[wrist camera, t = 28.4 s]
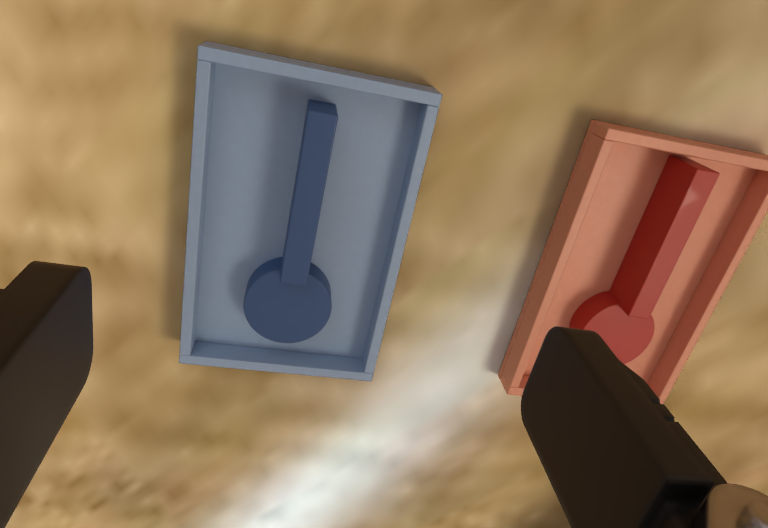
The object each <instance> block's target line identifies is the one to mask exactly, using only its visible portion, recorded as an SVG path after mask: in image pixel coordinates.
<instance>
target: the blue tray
mask: <svg viewBox="0 0 768 528" xmlns="http://www.w3.org/2000/svg"><path fill="white" fill-rule="evenodd" d="M197 59H198V60H197V71H196V87H195V104H194V121H193V137H192V154H191V171H190V187H189V204H188V221H187V237H186V254H185V271H184V287H183V304H182V321H181V337H180V355H179V363H183V364H194V365H204V366H215V367H225V368H236V369H246V370H257V371H267V372H278V373H288V374H299V375H310V376H320V377H331V378H341V379H352V380H362V381H372V378H373V373H374V370H375V365H376V361H377V357H378V353H379V349H380V345H381V341H382V337H383V333H384V329H385V325H386V321H387V317H388V313H389V309H390V305H391V301H392V296H393V292H394V288H395V284H396V280H397V276H398V272H399V268H400V264H401V260H402V256H403V252H404V248H405V244H406V240H407V236H408V232H409V227H410V223H411V219H412V215H413V211H414V207H415V203H416V199H417V195H418V191H419V187H420V183H421V179H422V175H423V171H424V167H425V163H426V158H427V154H428V150H429V146H430V142H431V138H432V134H433V130H434V126H435V122H436V118H437V114H438V110H439V106H440V102H441V98H442V94H441V93H440V92H439V91H437V90H436V89H435V88H434V87H430V86H425V85H420V84H415V83H410V82H405V81H400V80H395V79H391V78H386V77H381V76H376V75H371V74H366V73H361V72H356V71H351V70H346V69H341V68H337V67H332V66H327V65H322V64H317V63H312V62H307V61H302V60H297V59H292V58H287V57H283V56H278V55H273V54H268V53H263V52H258V51H253V50H248V49H243V48H238V47H233V46H229V45H224V44H219V43H214V42H209V41H205V42H203V43H202V44H200V45H198V53H197ZM309 99H311V100H316V101H321V102H326V103H331V104H335V105H336V108H337V113H338V121H337V127H336V132H335V137H334V143H333V148H332V153H331V158H330V164H329V169H328V174H327V180H326V185H325V190H324V196H323V201H322V206H321V211H320V217H319V222H318V227H317V233H316V238H315V243H314V249H313V254H312V259H311V263H313V264H314V265H316V266H317V267H318V268H320V269H321V271H322V272H323V273H324V274H325V276H326V277H327V279H328V281H329V284H330V288H331V301H332V309H331V314H330V318H329V320H328V322H327V323H326V325H325V326H324V327H323V329H322V330H321V331H320V332H319V333H317V334H316V335H315V336H313V337H311V338H309V339H307V340H304V341H301V342H297V343H279V342H275V341H271V340H269V339H266V338H264V337H263V336H261V335H260V334H258V333H257V332H256V331H255V330H254V329H253V328H252V327H251V326H250V324H249V323H248V321H247V319H246V317H245V313H244V308H243V303H244V297H245V292H246V288H247V283H248V281H249V278H250V277H251V275H252V274H253V272H254V271H255V270H256V269H257V268H258V267H259V266H261V265H262V264H263V263H265V262H267V261H269V260H272V259H275V258H278V257H283V251H284V245H285V239H286V232H287V226H288V220H289V214H290V208H291V202H292V196H293V190H294V184H295V177H296V171H297V165H298V159H299V153H300V147H301V141H302V135H303V128H304V122H305V116H306V110H307V104H308V100H309Z"/></svg>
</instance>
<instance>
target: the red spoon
mask: <svg viewBox="0 0 768 528" xmlns="http://www.w3.org/2000/svg"><path fill="white" fill-rule="evenodd" d="M719 175H720V173H719V172H717V171H715V170H712V169H710V168H708V167H706V166H704V165H702V164H700V163H698V162H695V161H693V160H691V159H688V158H683V157H678V156H673V155H669V157H668V159H667V161H666V164H665V166H664V168H663V170H662V173H661V175H660V177H659V179H658V182H657V184H656V186H655V188H654V191H653V193H652V195H651V197H650V200H649V202H648V204H647V207H646V209H645V211H644V213H643V216H642V218H641V220H640V222H639V225H638V227H637V229H636V231H635V234H634V236H633V238H632V240H631V243H630V245H629V247H628V249H627V252H626V254H625V256H624V259H623V261H622V263H621V265H620V268H619V270H618V272H617V274H616V277H615V279H614V281H613V283H612V286H611V288H610V290H609V291H605V292H601V293H598V294H596V295H594V296H592V297H590V298H589V299H587V300H586V301H584V302H583V303H582V304H581V305H580V306H579V307H578V308H577V310H576V311H575V313H574V314H573V316H572V318H571V321H570V325H569V328H575V329H583V330H591V331H595V332H597V333H598V334H599V335H600V336H601V338H602V339H603V340H604V342H605V343H606V344H607V345H608V347H609V348H610V349H611V350H612V352H613V353H614V354H615V356H616V357H617V358H618V359H619V360H620V361H621V362H622V363H623V364H626V363H628V362H630V361H632V360H634V359H635V358H637V357H638V356H639V355H640V354H641V353H642V352H643V351H644V350H645V349H646V348H647V346H648V345H649V343H650V342H651V340H652V337H653V334H654V320H653V317H652V315H651V314H652V312H653V310H654V308H655V305H656V303H657V301H658V299H659V297H660V295H661V293H662V291H663V289H664V287H665V285H666V283H667V281H668V279H669V277H670V275H671V273H672V271H673V269H674V267H675V265H676V263H677V261H678V259H679V256H680V254H681V252H682V250H683V248H684V246H685V244H686V242H687V240H688V238H689V236H690V234H691V232H692V230H693V228H694V226H695V224H696V222H697V220H698V218H699V216H700V214H701V212H702V210H703V207H704V205H705V203H706V201H707V199H708V197H709V195H710V193H711V191H712V189H713V187H714V185H715V183H716V181H717V179H718V177H719Z"/></svg>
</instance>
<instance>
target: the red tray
mask: <svg viewBox="0 0 768 528" xmlns="http://www.w3.org/2000/svg"><path fill="white" fill-rule="evenodd" d="M669 155H673V156H678V157H683V158H688V159H691V160H693V161H695V162H698V163H700V164H702V165H704V166H706V167H708V168H710V169H712V170H715V171H717V172H719V173H720V175H719V177H718V179H717V181H716V183H715V185H714V187H713V189H712V191H711V193H710V195H709V197H708V199H707V201H706V203H705V205H704V207H703V210H702V212H701V214H700V216H699V218H698V220H697V222H696V224H695V226H694V228H693V230H692V232H691V234H690V236H689V238H688V240H687V242H686V244H685V246H684V248H683V250H682V252H681V254H680V256H679V259H678V261H677V263H676V265H675V267H674V269H673V271H672V273H671V275H670V277H669V279H668V281H667V283H666V285H665V287H664V289H663V291H662V293H661V295H660V297H659V299H658V301H657V303H656V305H655V308H654V310H653V312H652V314H651V315H652V317H653V320H654V334H653V337H652V340H651V342H650V343H649V345H648V346H647V348H646V349H645V350H644V351H643V352H642V353H641V354H640V355H639V356H638V357H637V358H635V359H634V360H632V361H630V362H628V363H626V364H625V365H626V366H627V367H629V368H630V369H631V370H632V371H634V372H635V373H636V374H637V375H639V376H640V377H641V378H643V379H644V380H645V382H646V383H647V384H648V385H649V387H650V388H651V389H652V390H653V392H654V393H655V394H656V395H657V397H658V398H659V399H660V404H664V402H665V400H666V398H667V397H668V395H669V393H670V391H671V389H672V387H673V385H674V384H675V382H676V380H677V378H678V376H679V374H680V373H681V371H682V369H683V367H684V365H685V363H686V361H687V360H688V358H689V356H690V354H691V352H692V350H693V348H694V347H695V345H696V343H697V341H698V339H699V337H700V335H701V334H702V332H703V330H704V328H705V326H706V324H707V322H708V321H709V319H710V317H711V315H712V313H713V311H714V309H715V308H716V306H717V304H718V302H719V300H720V298H721V296H722V295H723V293H724V291H725V289H726V287H727V285H728V283H729V282H730V280H731V278H732V276H733V274H734V272H735V270H736V269H737V267H738V265H739V263H740V261H741V259H742V257H743V256H744V254H745V252H746V250H747V248H748V246H749V244H750V243H751V241H752V239H753V237H754V235H755V233H756V231H757V230H758V228H759V226H760V224H761V222H762V220H763V219H764V217H765V215H766V213H767V211H768V156H767V155H764V154H759V153H754V152H749V151H744V150H739V149H734V148H729V147H724V146H719V145H714V144H710V143H705V142H700V141H695V140H690V139H685V138H680V137H675V136H670V135H665V134H660V133H656V132H651V131H646V130H641V129H636V128H631V127H626V126H621V125H616V124H611V123H606V122H602V121H597V120H591V122H590V125H589V128H588V130H587V133H586V136H585V139H584V141H583V144H582V147H581V150H580V152H579V155H578V158H577V160H576V163H575V166H574V169H573V171H572V174H571V177H570V180H569V182H568V185H567V188H566V191H565V193H564V196H563V199H562V201H561V204H560V207H559V210H558V212H557V215H556V218H555V221H554V223H553V226H552V229H551V232H550V234H549V237H548V240H547V242H546V245H545V248H544V251H543V253H542V256H541V259H540V262H539V264H538V267H537V270H536V273H535V275H534V278H533V281H532V284H531V286H530V289H529V292H528V294H527V297H526V300H525V303H524V305H523V308H522V311H521V314H520V316H519V319H518V322H517V325H516V327H515V330H514V333H513V335H512V338H511V341H510V344H509V346H508V349H507V352H506V355H505V357H504V360H503V363H502V366H501V368H500V371H499V374H498V376H499V378H500V379H501V382H502V384H503V386H504V388H505V391H506V393H507V394H510V395H520V396H522V394H523V391H524V388H525V385H526V383H527V380H528V378H529V375H530V373H531V371H532V368H533V366H534V363H535V361H536V358H537V356H538V353H539V351H540V348H541V346H542V343H543V341H544V338H545V336H546V334H547V333H548V331H549V330H550V329H551V328H553V327H555V326H559V327H567V328H569V325H570V321H571V318H572V316H573V314H574V313H575V311H576V310H577V308H578V307H579V306H580V305H581V304H582V303H583V302H584V301H586V300H587V299H589V298H590V297H592V296H594V295H596V294H598V293H601V292H605V291H609V290H610V288H611V286H612V283H613V281H614V279H615V277H616V274H617V272H618V270H619V268H620V265H621V263H622V261H623V259H624V256H625V254H626V252H627V249H628V247H629V245H630V243H631V240H632V238H633V236H634V234H635V231H636V229H637V227H638V225H639V222H640V220H641V218H642V216H643V213H644V211H645V209H646V207H647V204H648V202H649V200H650V197H651V195H652V193H653V191H654V188H655V186H656V184H657V182H658V179H659V177H660V175H661V173H662V170H663V168H664V166H665V164H666V161H667V159H668V157H669Z"/></svg>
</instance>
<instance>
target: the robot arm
mask: <svg viewBox="0 0 768 528" xmlns="http://www.w3.org/2000/svg"><path fill="white" fill-rule="evenodd" d="M92 356H93V321H92V284H91V275H90V272H89V270H88V268H86V267H80V266H72V265H64V264H56V263H48V262H40V261H33V262H31V263H30V264H29V265H28V266H27V267H26V268H25V269H24V270H23V271H22V272H21V273H20V274H19V275H18V276H17V277H16V278H15V279H14V280H13V281H12V282H11V283H10V284H9V285H8V286H7V287H6V288H5V289H0V528H5V526H6V524H7V523H8V521H9V519H10V517H11V516H12V514H13V512H14V510H15V508H16V507H17V505H18V503H19V501H20V499H21V498H22V496H23V494H24V492H25V491H26V489H27V487H28V485H29V483H30V482H31V480H32V478H33V476H34V474H35V473H36V471H37V469H38V467H39V465H40V464H41V462H42V460H43V458H44V457H45V455H46V453H47V451H48V449H49V448H50V446H51V444H52V442H53V440H54V439H55V437H56V435H57V433H58V432H59V430H60V428H61V426H62V424H63V423H64V421H65V419H66V417H67V415H68V414H69V412H70V410H71V408H72V406H73V405H74V403H75V401H76V399H77V398H78V396H79V394H80V392H81V390H82V389H83V387H84V385H85V383H86V380H87V377H88V374H89V371H90V367H91V362H92ZM521 415H522V420H523V423H524V426H525V428H526V430H527V432H528V435H529V437H530V439H531V441H532V443H533V445H534V448H535V450H536V452H537V454H538V456H539V458H540V461H541V463H542V465H543V467H544V469H545V471H546V474H547V476H548V478H549V480H550V482H551V484H552V486H553V489H554V491H555V493H556V495H557V497H558V499H559V502H560V504H561V506H562V508H563V510H564V512H565V515H566V517H567V519H568V521H569V523H570V525H571V528H768V496H767V495H765V494H763V493H761V492H758V491H756V490H754V489H751V488H748V487H745V486H742V485H737V484H728V483H727V482H726V481H725V480H724V478H723V477H722V476H721V475H720V473H719V472H718V471H717V470H716V468H715V467H714V466H713V465H712V463H711V462H710V461H709V460H708V458H707V457H706V456H705V455H704V454H703V452H702V451H701V450H700V449H699V447H698V446H697V445H696V444H695V442H694V441H693V440H692V439H691V437H690V436H689V435H688V434H687V432H686V431H685V430H684V429H683V428H682V426H681V425H680V424H679V423H678V422H674V416H673V415H672V414H671V413H670V411H669V410H668V409H667V408H666V406H665V405H664V404H660V399H659V398H658V397H657V395H656V394H655V393H654V392H653V390H652V389H651V388H650V387H649V385H648V384H647V383H646V382H645V380H644V379H643V378H641V377H640V376H639V375H637V374H636V373H635V372H634V371H632V370H631V369H630V368H629V367H627V366H626V365H625V364H623V363H622V362H621V361H620V360H619V359H618V358H617V357H616V356H615V354H614V353H613V352H612V350H611V349H610V348H609V347H608V345H607V344H606V343H605V342H604V340H603V339H602V338H601V336H600V335H599V334H598V333H597V332H595V331H591V330H583V329H575V328H567V327H559V326H555V327H553V328H551V329H550V330H549V331H548V333H547V334H546V336H545V338H544V341H543V343H542V346H541V348H540V351H539V353H538V356H537V358H536V361H535V363H534V366H533V368H532V371H531V373H530V375H529V378H528V380H527V383H526V385H525V388H524V391H523V394H522V400H521Z"/></svg>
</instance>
